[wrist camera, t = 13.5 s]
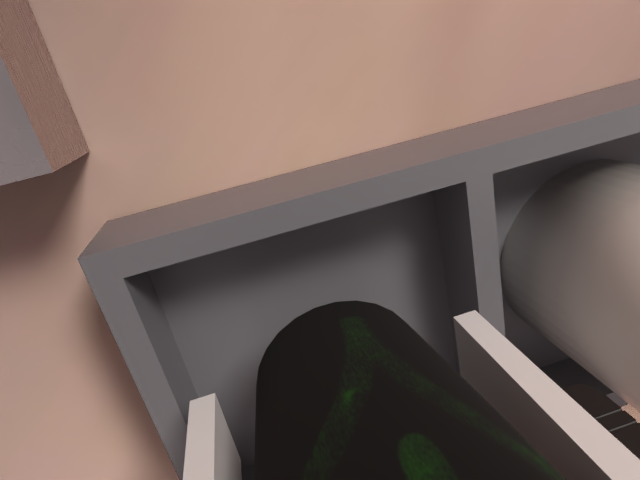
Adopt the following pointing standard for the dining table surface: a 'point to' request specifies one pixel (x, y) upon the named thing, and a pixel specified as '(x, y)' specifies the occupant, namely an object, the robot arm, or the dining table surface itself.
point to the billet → (582, 269)
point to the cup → (376, 407)
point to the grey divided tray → (340, 255)
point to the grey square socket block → (32, 102)
